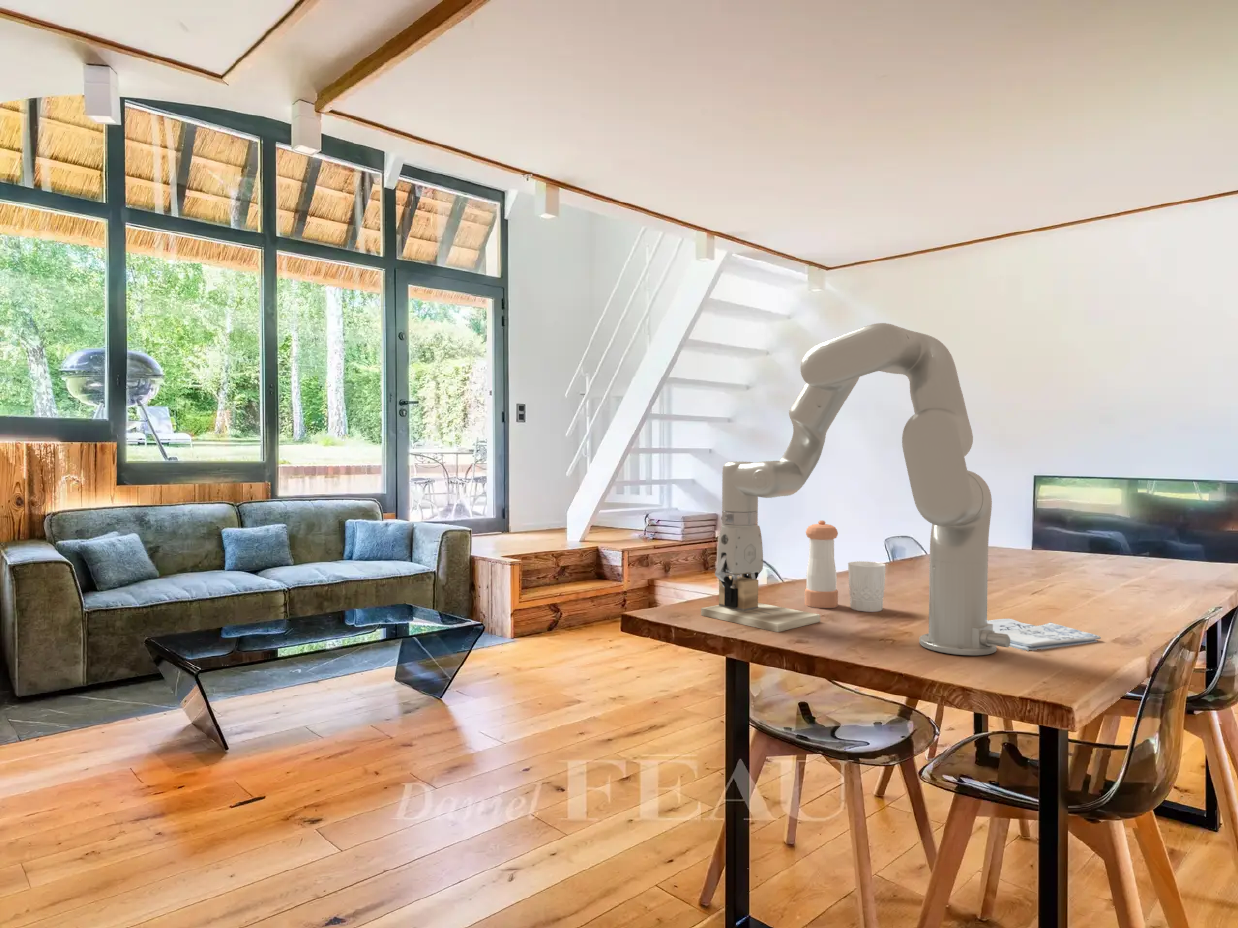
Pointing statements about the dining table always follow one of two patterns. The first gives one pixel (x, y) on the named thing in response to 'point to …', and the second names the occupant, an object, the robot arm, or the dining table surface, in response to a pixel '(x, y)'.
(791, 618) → the board
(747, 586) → the block
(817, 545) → the pepper shaker
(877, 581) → the white cup
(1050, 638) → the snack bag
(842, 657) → the dining table surface
